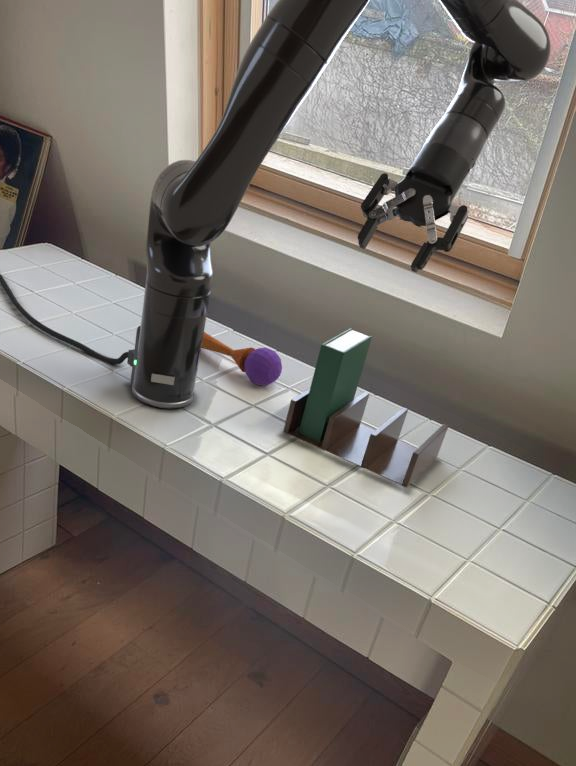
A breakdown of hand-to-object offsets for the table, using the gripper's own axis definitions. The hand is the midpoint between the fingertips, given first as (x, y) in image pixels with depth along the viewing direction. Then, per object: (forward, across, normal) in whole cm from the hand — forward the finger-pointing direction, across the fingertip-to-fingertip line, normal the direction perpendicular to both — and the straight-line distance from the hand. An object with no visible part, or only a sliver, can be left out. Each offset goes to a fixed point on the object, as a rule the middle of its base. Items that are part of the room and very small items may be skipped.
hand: (386, 257), depth 117 cm
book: (+25, +3, +6) cm, 26 cm away
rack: (+25, +10, +6) cm, 27 cm away
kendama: (+23, -18, +13) cm, 32 cm away
